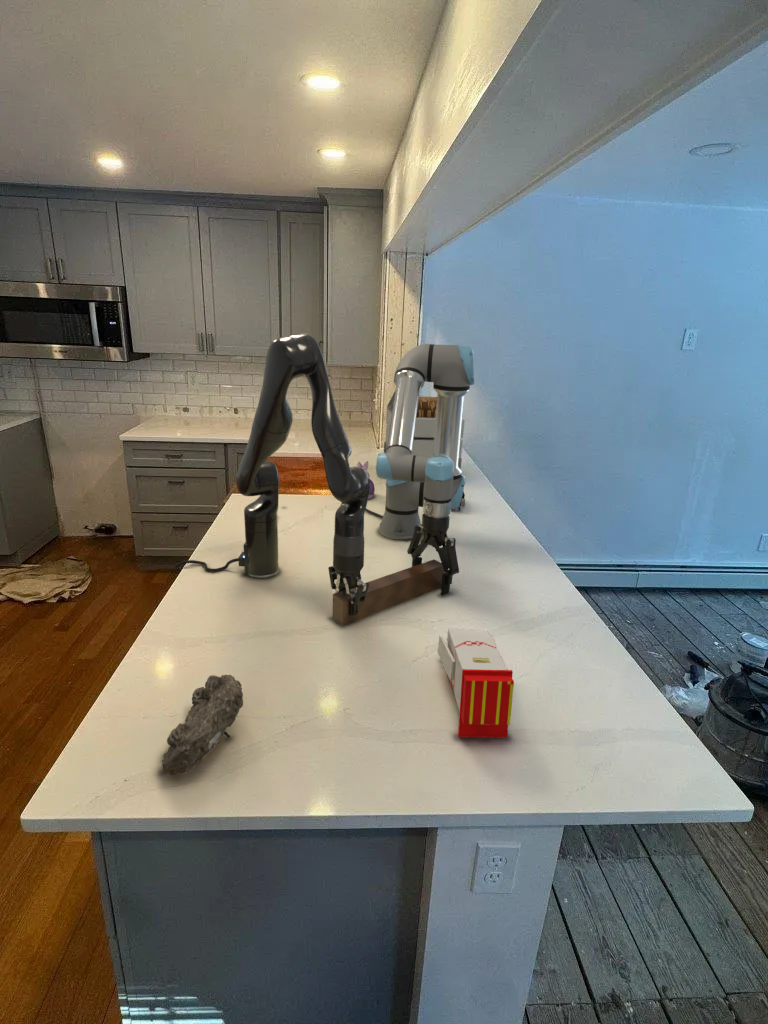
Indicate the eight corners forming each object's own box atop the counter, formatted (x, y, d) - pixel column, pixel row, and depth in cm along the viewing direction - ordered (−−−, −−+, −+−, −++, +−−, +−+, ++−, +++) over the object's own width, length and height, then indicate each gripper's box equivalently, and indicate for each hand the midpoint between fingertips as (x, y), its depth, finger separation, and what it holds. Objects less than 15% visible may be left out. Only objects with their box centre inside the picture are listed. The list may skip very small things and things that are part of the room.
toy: (488, 613, 130) (523, 677, 101) (484, 667, 133) (517, 744, 104) (435, 612, 130) (455, 676, 101) (432, 666, 133) (451, 743, 103)
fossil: (189, 675, 113) (243, 642, 108) (223, 706, 116) (276, 676, 111) (136, 768, 93) (198, 733, 88) (177, 802, 96) (240, 771, 91)
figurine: (359, 501, 230) (360, 466, 225) (349, 494, 239) (349, 459, 234) (379, 499, 235) (381, 464, 230) (369, 491, 243) (370, 458, 238)
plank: (342, 626, 141) (343, 601, 138) (332, 618, 144) (332, 594, 142) (443, 586, 163) (445, 564, 161) (432, 580, 166) (433, 559, 164)
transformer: (382, 463, 289) (386, 382, 275) (445, 464, 293) (451, 384, 279) (390, 482, 257) (394, 392, 243) (460, 483, 261) (468, 394, 247)
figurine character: (465, 515, 224) (460, 499, 237) (467, 498, 221) (462, 483, 234) (448, 515, 224) (444, 499, 237) (450, 498, 220) (445, 482, 234)
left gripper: (319, 543, 140) (318, 604, 146) (354, 563, 130) (352, 627, 136) (343, 536, 145) (342, 595, 151) (379, 555, 135) (376, 618, 141)
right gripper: (397, 505, 161) (393, 574, 169) (458, 530, 145) (451, 606, 152) (416, 500, 166) (412, 568, 173) (477, 524, 150) (469, 598, 157)
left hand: (347, 610), depth 143 cm, fingers closed on plank, 4 cm apart
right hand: (430, 586), depth 163 cm, fingers open, 11 cm apart
